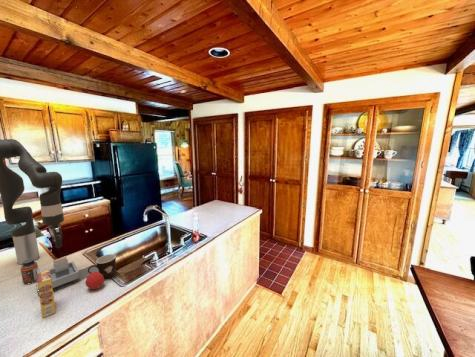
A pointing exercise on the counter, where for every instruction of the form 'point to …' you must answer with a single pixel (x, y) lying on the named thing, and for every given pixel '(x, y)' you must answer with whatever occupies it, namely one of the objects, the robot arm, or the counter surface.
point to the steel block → (61, 267)
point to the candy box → (46, 293)
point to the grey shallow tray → (62, 280)
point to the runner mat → (82, 274)
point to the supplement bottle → (29, 271)
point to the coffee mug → (106, 266)
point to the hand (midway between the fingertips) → (57, 244)
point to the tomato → (94, 280)
